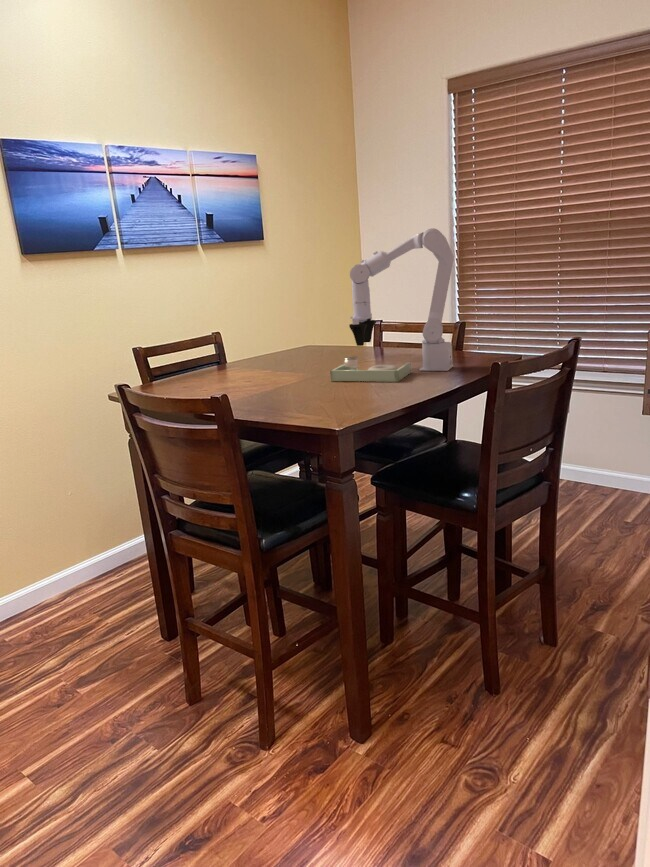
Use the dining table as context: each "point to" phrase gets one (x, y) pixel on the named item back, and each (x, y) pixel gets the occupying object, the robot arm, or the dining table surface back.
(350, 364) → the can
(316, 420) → the dining table surface
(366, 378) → the tray
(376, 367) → the donut
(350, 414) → the dining table surface
